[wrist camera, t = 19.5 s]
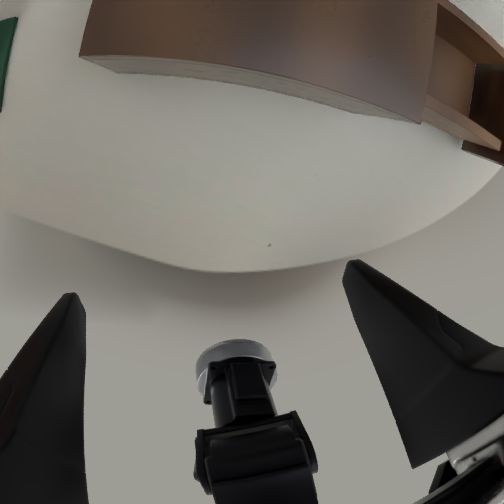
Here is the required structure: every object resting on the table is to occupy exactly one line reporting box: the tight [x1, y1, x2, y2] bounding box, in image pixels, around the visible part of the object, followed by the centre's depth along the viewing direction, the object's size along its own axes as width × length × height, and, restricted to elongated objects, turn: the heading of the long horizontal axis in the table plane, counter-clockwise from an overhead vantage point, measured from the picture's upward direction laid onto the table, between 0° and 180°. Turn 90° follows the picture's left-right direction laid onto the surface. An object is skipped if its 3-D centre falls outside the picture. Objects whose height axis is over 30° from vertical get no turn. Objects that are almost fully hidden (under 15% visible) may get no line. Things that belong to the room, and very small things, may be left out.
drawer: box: [422, 0, 504, 166], centre depth 15 cm, size 16×9×5 cm, turn 79°
